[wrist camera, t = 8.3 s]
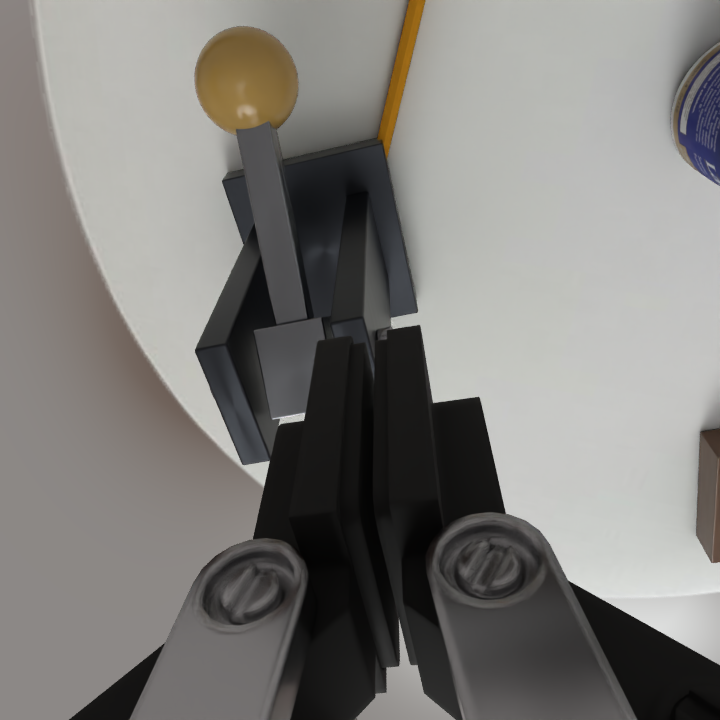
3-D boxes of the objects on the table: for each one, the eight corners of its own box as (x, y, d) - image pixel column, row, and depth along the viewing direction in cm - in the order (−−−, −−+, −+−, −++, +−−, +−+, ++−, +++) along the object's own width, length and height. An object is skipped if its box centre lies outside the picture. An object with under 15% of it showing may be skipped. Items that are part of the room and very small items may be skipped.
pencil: (465, -252, 22) (468, -259, 21) (485, -246, 22) (489, -252, 21) (345, 269, 31) (344, 276, 31) (359, 272, 32) (359, 279, 31)
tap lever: (206, 62, 22) (167, 23, 19) (297, 39, 22) (272, -6, 19) (277, 408, 23) (251, 425, 20) (366, 392, 23) (354, 407, 19)
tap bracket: (226, 172, 29) (135, 302, 18) (382, 136, 28) (385, 249, 17) (279, 328, 33) (230, 511, 22) (416, 301, 32) (437, 478, 21)
